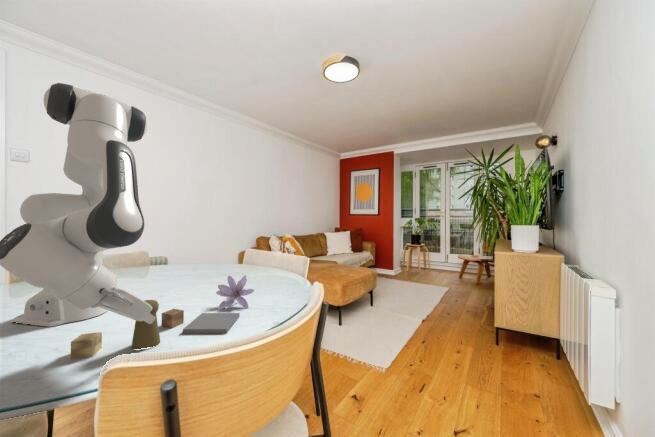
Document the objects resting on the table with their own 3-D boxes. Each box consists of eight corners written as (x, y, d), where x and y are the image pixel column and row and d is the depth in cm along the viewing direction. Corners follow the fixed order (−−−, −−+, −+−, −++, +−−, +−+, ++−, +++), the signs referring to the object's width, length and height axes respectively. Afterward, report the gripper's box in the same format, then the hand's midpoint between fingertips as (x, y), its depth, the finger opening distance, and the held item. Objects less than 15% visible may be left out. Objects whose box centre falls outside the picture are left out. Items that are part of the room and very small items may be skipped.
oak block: (70, 359, 58) (70, 341, 58) (81, 350, 62) (81, 334, 62) (92, 356, 59) (92, 339, 59) (101, 348, 63) (101, 332, 63)
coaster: (182, 333, 71) (182, 329, 71) (202, 316, 83) (202, 313, 83) (226, 333, 72) (226, 329, 72) (239, 316, 84) (239, 313, 84)
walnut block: (161, 326, 76) (161, 313, 76) (173, 321, 79) (173, 308, 79) (172, 328, 74) (172, 314, 74) (183, 323, 78) (183, 310, 78)
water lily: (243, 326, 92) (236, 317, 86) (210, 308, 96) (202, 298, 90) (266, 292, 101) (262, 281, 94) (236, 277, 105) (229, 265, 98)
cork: (141, 339, 68) (141, 297, 68) (165, 338, 68) (165, 297, 68) (125, 351, 62) (125, 305, 62) (151, 350, 62) (152, 305, 62)
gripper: (128, 280, 52) (175, 312, 61) (83, 269, 62) (130, 299, 70) (100, 308, 48) (155, 339, 57) (57, 293, 58) (110, 321, 66)
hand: (141, 316), depth 64 cm, fingers open, 8 cm apart
